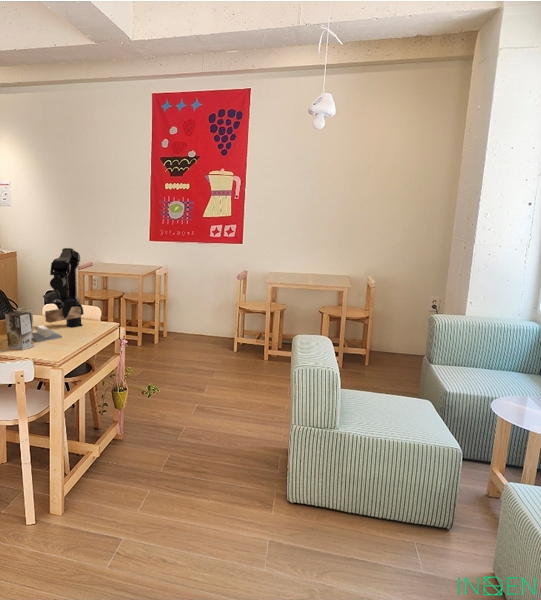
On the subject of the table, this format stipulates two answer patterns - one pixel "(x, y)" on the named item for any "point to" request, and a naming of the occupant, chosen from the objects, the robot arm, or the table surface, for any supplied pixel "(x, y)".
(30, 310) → the block tower
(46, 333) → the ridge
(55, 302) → the robot arm
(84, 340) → the table surface
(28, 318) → the coffee box
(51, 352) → the table surface
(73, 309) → the beam
